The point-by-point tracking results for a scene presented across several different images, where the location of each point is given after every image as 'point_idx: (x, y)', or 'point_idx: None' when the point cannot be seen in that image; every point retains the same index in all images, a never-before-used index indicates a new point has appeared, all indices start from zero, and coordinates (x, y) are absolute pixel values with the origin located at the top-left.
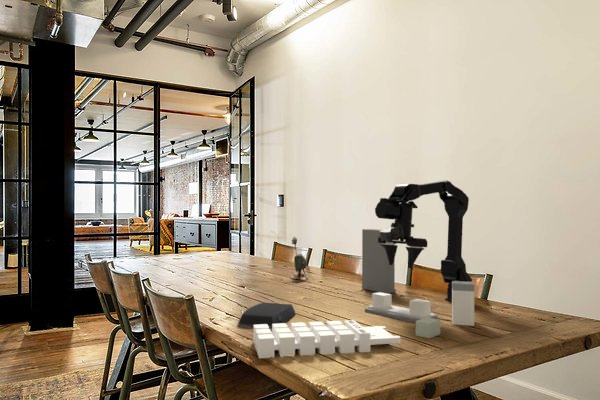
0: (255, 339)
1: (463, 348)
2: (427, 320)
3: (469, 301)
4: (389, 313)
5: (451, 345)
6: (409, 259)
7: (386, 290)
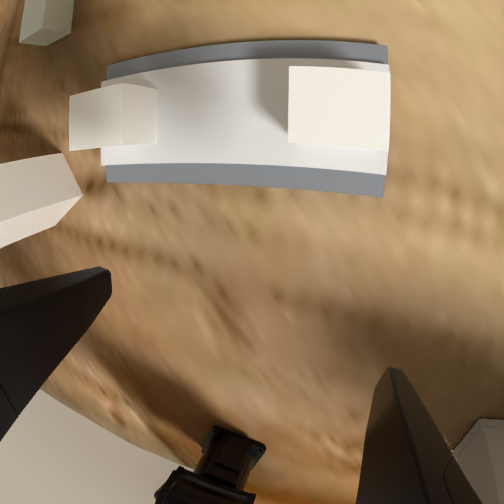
0: None
1: (5, 23)
2: (34, 7)
3: None
4: (237, 48)
5: (18, 14)
6: (23, 286)
7: (478, 430)
